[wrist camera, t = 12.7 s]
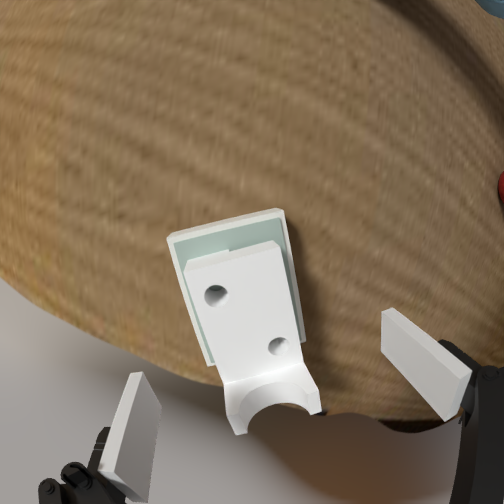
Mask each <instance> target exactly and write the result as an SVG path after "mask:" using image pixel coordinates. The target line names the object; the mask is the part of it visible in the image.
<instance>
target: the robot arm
mask: <svg viewBox="0 0 504 504" xmlns="http://www.w3.org/2000/svg"><path fill="white" fill-rule="evenodd" d="M475 1H476V2H477V3H478V4H479V5H480V6H481V7H482V8H483V9H484V10H485V11H486V12H487V13H489V14H491V15H493V16H496V17H498V18H502V19H504V0H475ZM381 352H382V353H383V354H384V355H385V356H386V357H387V358H388V359H389V360H390V362H391V363H392V364H393V365H394V366H395V367H396V368H397V369H398V370H399V371H400V372H401V373H402V375H403V376H404V377H405V378H406V379H407V380H408V381H409V382H410V383H411V384H412V386H413V387H414V388H415V389H416V390H417V391H418V392H419V393H420V394H421V396H422V397H423V398H424V399H425V400H426V401H427V402H428V403H429V405H430V406H431V407H432V408H433V409H434V410H435V411H436V412H437V414H438V415H439V416H440V417H441V418H442V419H443V420H444V422H445V421H447V420H448V419H450V418H451V417H453V416H454V415H456V414H457V412H458V410H459V407H460V405H461V406H462V407H463V409H464V411H463V413H462V415H461V418H460V420H459V424H460V423H461V421H462V431H461V441H460V450H459V457H458V463H457V470H456V475H455V480H454V485H453V490H452V494H451V498H450V502H449V504H503V500H504V367H502V368H499V369H498V368H497V367H495V366H489V365H488V366H484V367H482V366H481V365H479V364H478V363H477V362H476V361H474V360H473V359H472V358H471V357H469V356H468V355H467V354H466V353H463V351H462V350H460V349H458V347H457V346H455V345H454V344H453V343H451V342H449V341H446V340H443V339H442V340H440V341H438V342H437V341H435V340H434V339H433V338H432V337H430V336H429V335H428V334H426V333H425V332H424V331H423V330H421V329H420V328H419V327H418V326H416V325H415V324H414V323H412V322H411V321H410V320H409V319H407V318H406V317H405V316H403V315H402V314H401V313H399V312H398V311H397V310H395V309H394V308H390V309H387V310H385V311H382V325H381ZM161 410H162V406H161V404H160V403H159V401H158V399H157V397H156V396H155V394H154V392H153V390H152V388H151V387H150V385H149V383H148V381H147V379H146V377H145V375H144V373H143V372H137V373H131V374H130V376H129V378H128V381H127V384H126V386H125V389H124V392H123V395H122V397H121V400H120V403H119V406H118V409H117V412H116V414H115V417H114V420H113V423H112V426H111V427H104V428H103V430H102V431H101V432H100V433H99V435H98V437H97V440H96V444H95V446H94V450H93V452H92V455H91V458H90V461H89V464H88V467H87V468H86V467H85V466H83V464H81V463H79V462H71V463H69V464H67V465H66V466H65V467H64V468H63V469H62V472H61V479H62V480H63V481H64V482H65V483H66V484H59V483H58V482H57V481H56V480H55V479H52V478H47V479H45V480H43V481H42V482H41V483H40V485H39V488H38V493H39V504H126V503H125V498H126V497H127V498H129V499H130V500H131V501H133V502H146V503H147V502H148V495H149V488H150V479H151V472H152V465H153V458H154V452H155V445H156V439H157V433H158V427H159V421H160V415H161Z"/></svg>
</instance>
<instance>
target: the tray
mask: <svg viewBox="0 0 504 504" xmlns="http://www.w3.org/2000/svg"><path fill="white" fill-rule="evenodd" d="M271 240H273V241H274V242H275V243H276V244H278V245H279V246H280V249H281V253H282V258H283V262H284V267H285V272H286V276H287V281H288V286H289V291H290V295H291V300H292V305H293V310H294V315H295V320H296V325H297V330H298V335H299V340H300V343H303V342H306V336H305V329H304V323H303V316H302V310H301V304H300V298H299V292H298V286H297V280H296V275H295V269H294V263H293V258H292V252H291V247H290V242H289V236H288V231H287V226H286V221H285V216H284V211H283V210H281V209H278V208H273V209H268V210H264V211H259V212H255V213H251V214H246V215H242V216H238V217H233V218H229V219H225V220H221V221H217V222H213V223H208V224H204V225H200V226H196V227H192V228H188V229H184V230H181V231H177V232H173V233H171V234H170V235H169V236H168V237H167V242H168V245H169V249H170V253H171V256H172V260H173V263H174V267H175V270H176V273H177V277H178V280H179V283H180V287H181V290H182V293H183V296H184V299H185V302H186V306H187V309H188V312H189V315H190V318H191V321H192V324H193V327H194V330H195V332H196V335H197V338H198V341H199V344H200V347H201V349H202V352H203V355H204V358H205V360H206V363H207V366H212V365H216V364H215V361H214V358H213V356H212V353H211V351H210V348H209V345H208V343H207V340H206V337H205V335H204V332H203V329H202V326H201V323H200V321H199V318H198V315H197V312H196V309H195V306H194V303H193V301H192V298H191V295H190V292H189V289H188V286H187V282H186V279H185V276H184V273H183V272H184V269H185V266H186V263H187V261H188V260H190V259H194V258H198V257H201V256H205V255H209V254H213V253H216V252H220V251H224V250H227V249H229V252H230V251H234V250H237V249H241V248H245V247H249V246H252V245H256V244H260V243H264V242H267V241H271ZM223 288H224V287H222V286H220V285H212V286H210V287H209V289H210V290H213V291H219V290H221V289H223ZM278 338H279V337H278ZM275 339H277V338H275ZM275 339H273V340H275Z"/></svg>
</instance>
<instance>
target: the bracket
mask: <svg viewBox="0 0 504 504" xmlns="http://www.w3.org/2000/svg"><path fill="white" fill-rule="evenodd" d="M183 273H184V276H185V279H186V282H187V286H188V289H189V292H190V295H191V298H192V301H193V303H194V306H195V309H196V312H197V315H198V318H199V321H200V323H201V326H202V329H203V332H204V335H205V337H206V340H207V343H208V345H209V348H210V351H211V353H212V356H213V358H214V361H215V364H216V366H217V369H218V371H219V374H220V376H221V379H222V381H223V384H224V393H225V405H226V415H227V418H228V420H229V422H230V424H231V426H232V428H233V430H234V432H235V434H236V435H240V434H245V433H247V427H248V423H249V421H250V420H251V418H252V417H253V416H254V415H255V414H256V413H257V412H258V411H260V410H261V409H263V408H265V407H267V406H269V405H273V404H277V403H294V404H298V405H300V406H302V407H304V408H305V409H306V410H307V411H308V412H309V413H310V415H312V414H315V413H318V412H321V411H322V410H321V403H320V396H319V390H318V388H317V386H316V384H315V382H314V381H313V379H312V377H311V375H310V373H309V371H308V369H307V367H306V365H305V364H304V361H303V356H302V351H301V345H300V340H299V335H298V330H297V325H296V320H295V315H294V310H293V305H292V300H291V295H290V291H289V286H288V281H287V276H286V272H285V267H284V262H283V258H282V253H281V249H280V246H279V245H278V244H276V243H275V242H274V241H273V240H271V241H267V242H264V243H260V244H256V245H252V246H249V247H245V248H241V249H237V250H234V251H230V252H229V249H227V250H224V251H220V252H216V253H213V254H209V255H205V256H201V257H198V258H194V259H190V260H188V261H187V263H186V266H185V269H184V272H183ZM212 285H220V286H222V287H224V288H223V289H221V290H219V291H213V290H210V289H209V287H210V286H212ZM278 337H279V338H278ZM275 338H277V339H275ZM273 339H275V340H273Z"/></svg>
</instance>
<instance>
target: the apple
mask: <svg viewBox="0 0 504 504" xmlns="http://www.w3.org/2000/svg"><path fill="white" fill-rule="evenodd" d="M498 190H499V194H500V197H501V200H502V201H503V203H504V171H503V173H502V174H501V176H500V179H499V182H498Z"/></svg>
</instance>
